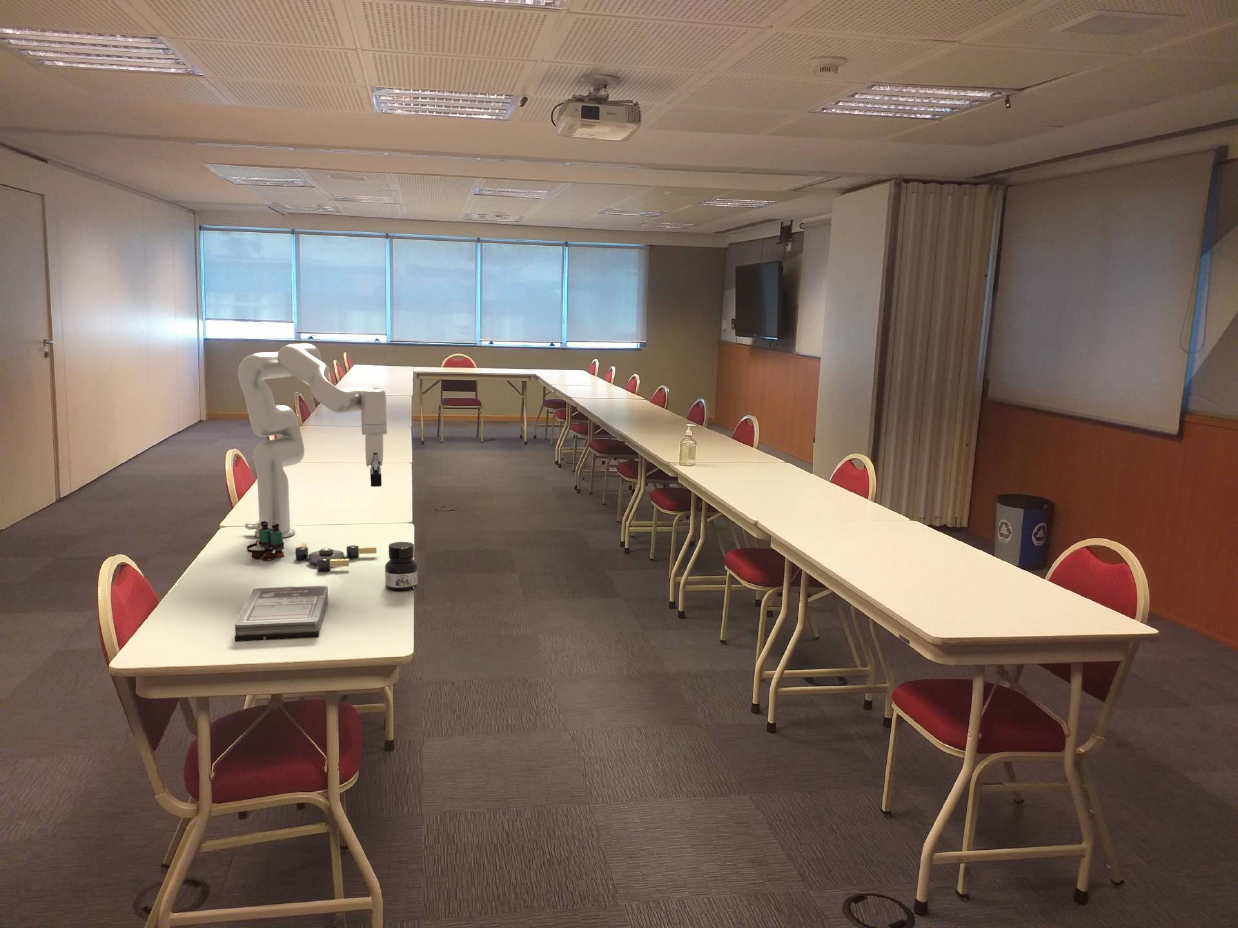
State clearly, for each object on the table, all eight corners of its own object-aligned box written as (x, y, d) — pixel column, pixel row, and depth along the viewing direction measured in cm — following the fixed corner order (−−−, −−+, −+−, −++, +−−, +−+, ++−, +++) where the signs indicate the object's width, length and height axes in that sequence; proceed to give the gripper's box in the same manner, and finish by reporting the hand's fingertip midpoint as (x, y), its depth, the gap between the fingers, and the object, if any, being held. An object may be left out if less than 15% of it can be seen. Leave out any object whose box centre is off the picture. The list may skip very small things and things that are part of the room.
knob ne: (346, 559, 273) (346, 548, 272) (347, 555, 276) (346, 545, 276) (376, 558, 275) (376, 547, 274) (376, 554, 278) (376, 544, 278)
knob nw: (307, 560, 270) (307, 549, 269) (295, 560, 269) (294, 550, 269) (310, 552, 278) (310, 542, 278) (298, 552, 278) (297, 542, 277)
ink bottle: (382, 592, 243) (382, 549, 241) (384, 582, 252) (383, 541, 250) (419, 591, 245) (419, 548, 243) (420, 581, 254) (419, 540, 251)
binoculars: (239, 528, 267) (264, 518, 275) (243, 561, 270) (269, 550, 278) (261, 532, 263) (286, 522, 272) (265, 566, 266) (290, 554, 275)
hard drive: (234, 643, 206) (233, 625, 205) (254, 604, 232) (253, 588, 231) (318, 639, 210) (318, 621, 209) (328, 601, 236) (328, 585, 235)
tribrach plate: (303, 569, 262) (302, 555, 261) (307, 558, 272) (306, 545, 272) (346, 567, 264) (345, 554, 264) (348, 556, 275) (348, 543, 275)
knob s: (317, 572, 259) (316, 561, 258) (318, 568, 262) (317, 557, 262) (348, 571, 261) (348, 560, 260) (349, 567, 264) (349, 556, 264)
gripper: (361, 425, 284) (363, 478, 287) (361, 433, 268) (363, 489, 271) (386, 425, 286) (387, 477, 289) (387, 432, 270) (389, 488, 273)
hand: (376, 483), depth 280 cm, fingers open, 9 cm apart
